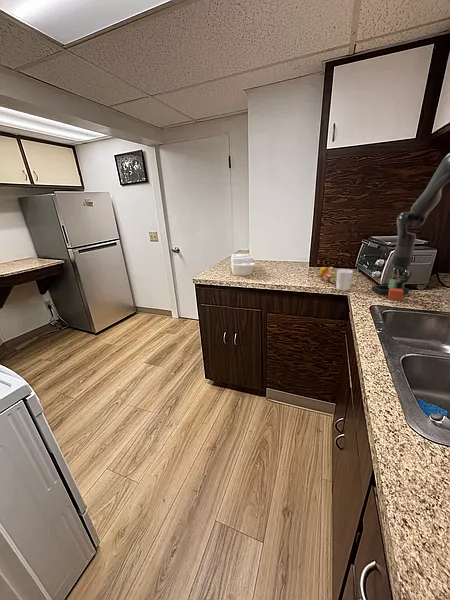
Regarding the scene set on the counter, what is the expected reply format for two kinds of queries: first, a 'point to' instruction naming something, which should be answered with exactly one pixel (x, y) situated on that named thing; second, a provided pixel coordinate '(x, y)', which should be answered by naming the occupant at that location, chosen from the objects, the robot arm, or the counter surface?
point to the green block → (394, 283)
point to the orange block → (395, 294)
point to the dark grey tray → (385, 289)
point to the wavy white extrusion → (242, 264)
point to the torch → (328, 274)
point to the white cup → (344, 279)
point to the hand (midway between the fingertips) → (395, 288)
